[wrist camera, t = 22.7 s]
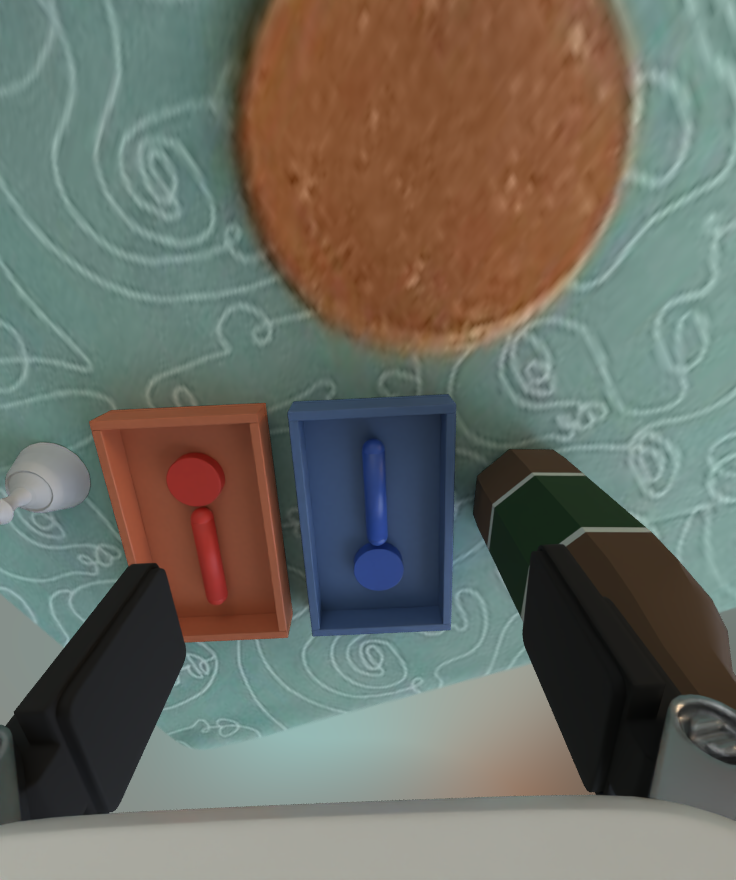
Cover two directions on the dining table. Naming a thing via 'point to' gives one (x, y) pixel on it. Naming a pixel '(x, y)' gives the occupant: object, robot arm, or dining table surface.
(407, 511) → the blue tray
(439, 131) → the dining table surface
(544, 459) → the beer bottle
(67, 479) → the chalice
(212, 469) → the red spoon
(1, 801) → the robot arm
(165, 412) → the terracotta tray
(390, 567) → the blue spoon
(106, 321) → the dining table surface
